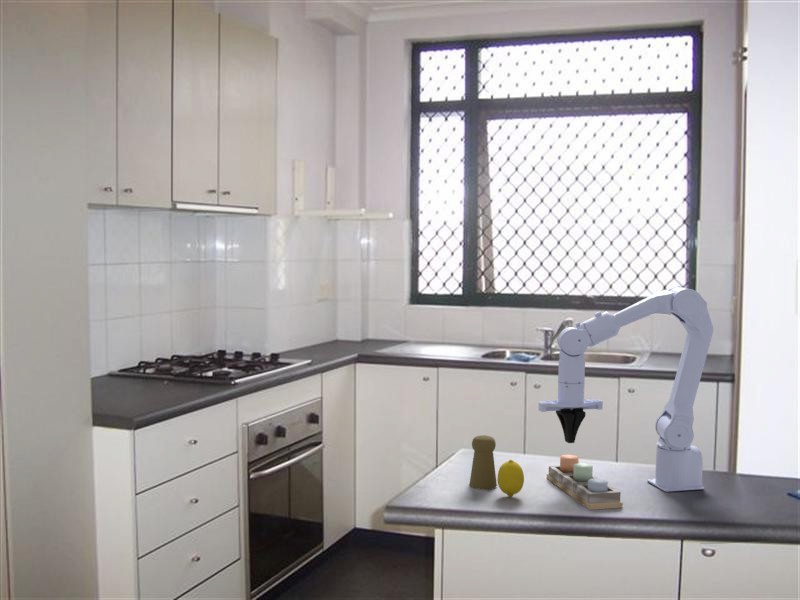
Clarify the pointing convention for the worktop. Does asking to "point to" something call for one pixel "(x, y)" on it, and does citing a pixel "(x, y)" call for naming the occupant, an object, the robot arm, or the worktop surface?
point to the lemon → (510, 478)
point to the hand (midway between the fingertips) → (569, 442)
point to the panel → (584, 490)
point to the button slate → (597, 485)
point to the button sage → (582, 472)
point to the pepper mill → (483, 463)
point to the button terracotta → (568, 463)
